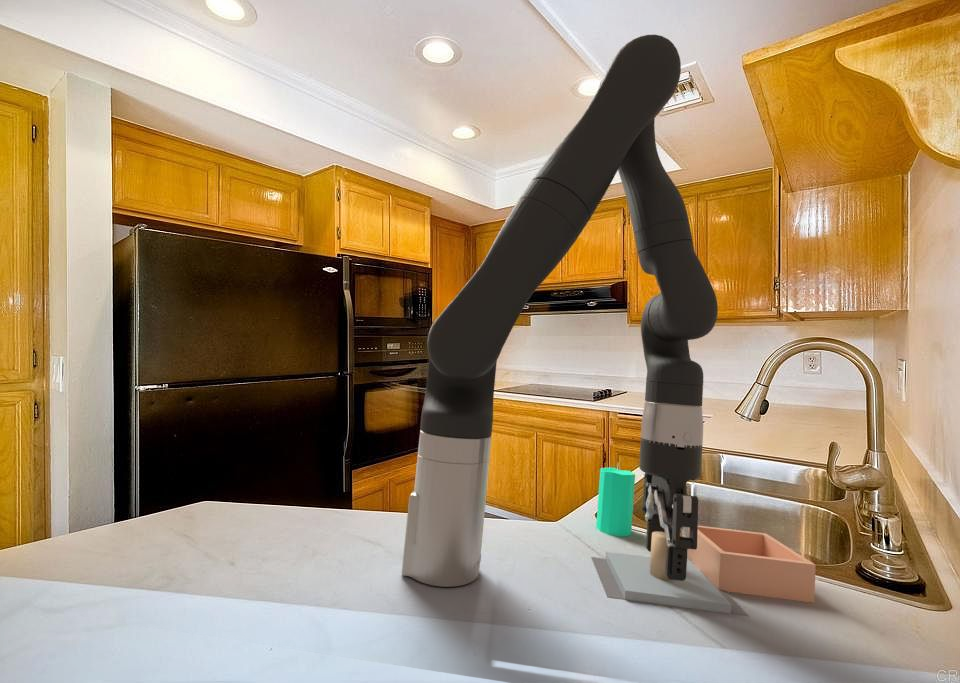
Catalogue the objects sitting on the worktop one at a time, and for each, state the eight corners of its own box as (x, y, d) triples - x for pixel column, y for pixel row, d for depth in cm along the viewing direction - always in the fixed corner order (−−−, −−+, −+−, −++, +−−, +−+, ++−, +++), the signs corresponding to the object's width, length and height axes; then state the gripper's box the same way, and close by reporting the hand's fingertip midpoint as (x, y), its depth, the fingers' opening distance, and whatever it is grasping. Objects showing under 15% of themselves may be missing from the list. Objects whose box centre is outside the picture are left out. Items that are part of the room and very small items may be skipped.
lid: (624, 599, 53) (628, 546, 54) (605, 558, 65) (608, 516, 66) (731, 613, 52) (733, 560, 53) (691, 569, 64) (694, 526, 65)
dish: (718, 593, 58) (720, 553, 59) (685, 557, 70) (687, 524, 70) (814, 605, 57) (815, 564, 58) (764, 567, 69) (766, 533, 69)
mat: (607, 600, 54) (607, 596, 54) (590, 559, 66) (591, 556, 66) (749, 619, 52) (749, 615, 52) (706, 574, 64) (706, 571, 64)
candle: (626, 541, 75) (631, 467, 76) (590, 531, 78) (596, 461, 79) (635, 532, 80) (639, 463, 81) (601, 523, 83) (606, 457, 84)
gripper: (629, 429, 68) (622, 541, 66) (658, 443, 53) (650, 585, 52) (681, 434, 67) (675, 547, 66) (724, 449, 53) (718, 594, 52)
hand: (664, 564), depth 59 cm, fingers open, 8 cm apart
